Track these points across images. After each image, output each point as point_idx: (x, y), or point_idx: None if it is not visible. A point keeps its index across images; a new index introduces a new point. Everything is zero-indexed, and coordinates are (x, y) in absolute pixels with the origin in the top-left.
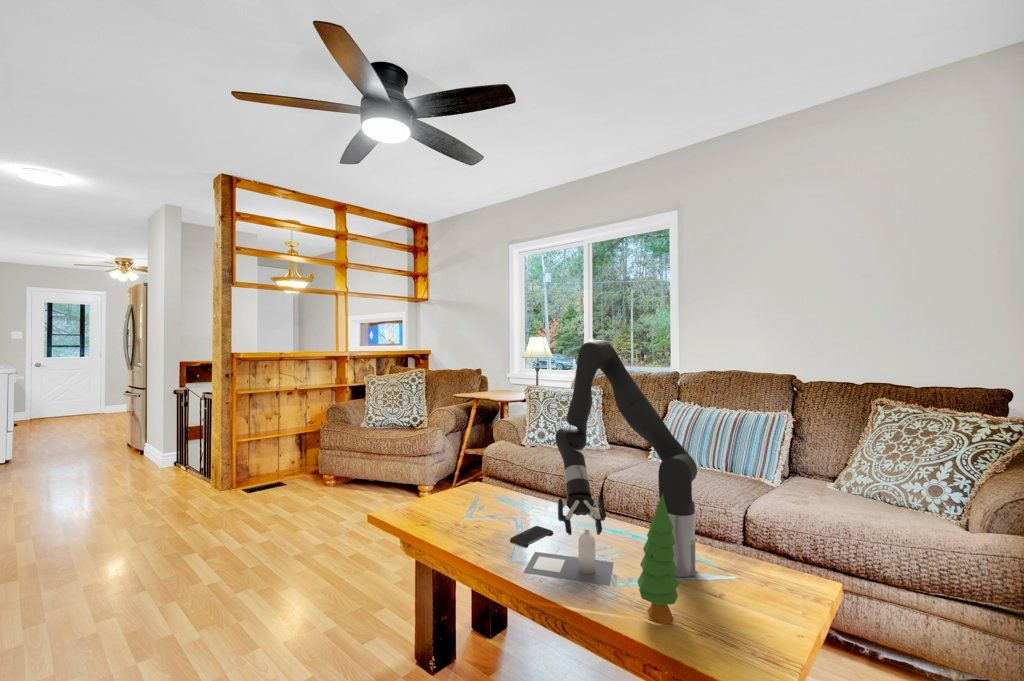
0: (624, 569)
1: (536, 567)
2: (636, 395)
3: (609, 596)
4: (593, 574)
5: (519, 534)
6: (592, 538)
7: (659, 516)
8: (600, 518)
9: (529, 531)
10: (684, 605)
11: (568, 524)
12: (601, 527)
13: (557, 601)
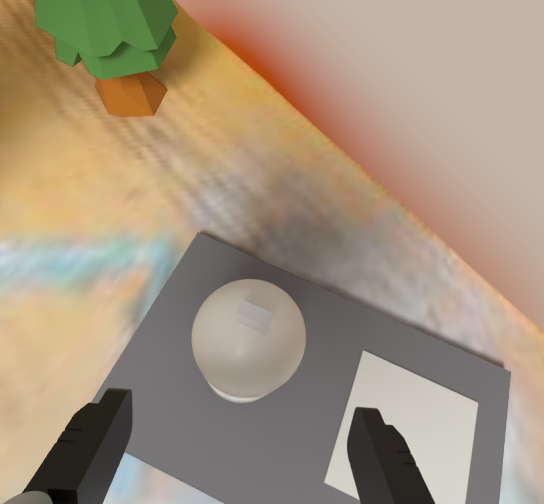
0: (57, 366)
1: (462, 410)
2: None
3: (220, 192)
4: None
5: None
6: (222, 290)
7: None
8: (9, 499)
9: None
10: (17, 118)
11: (401, 463)
12: (71, 427)
13: (383, 195)
